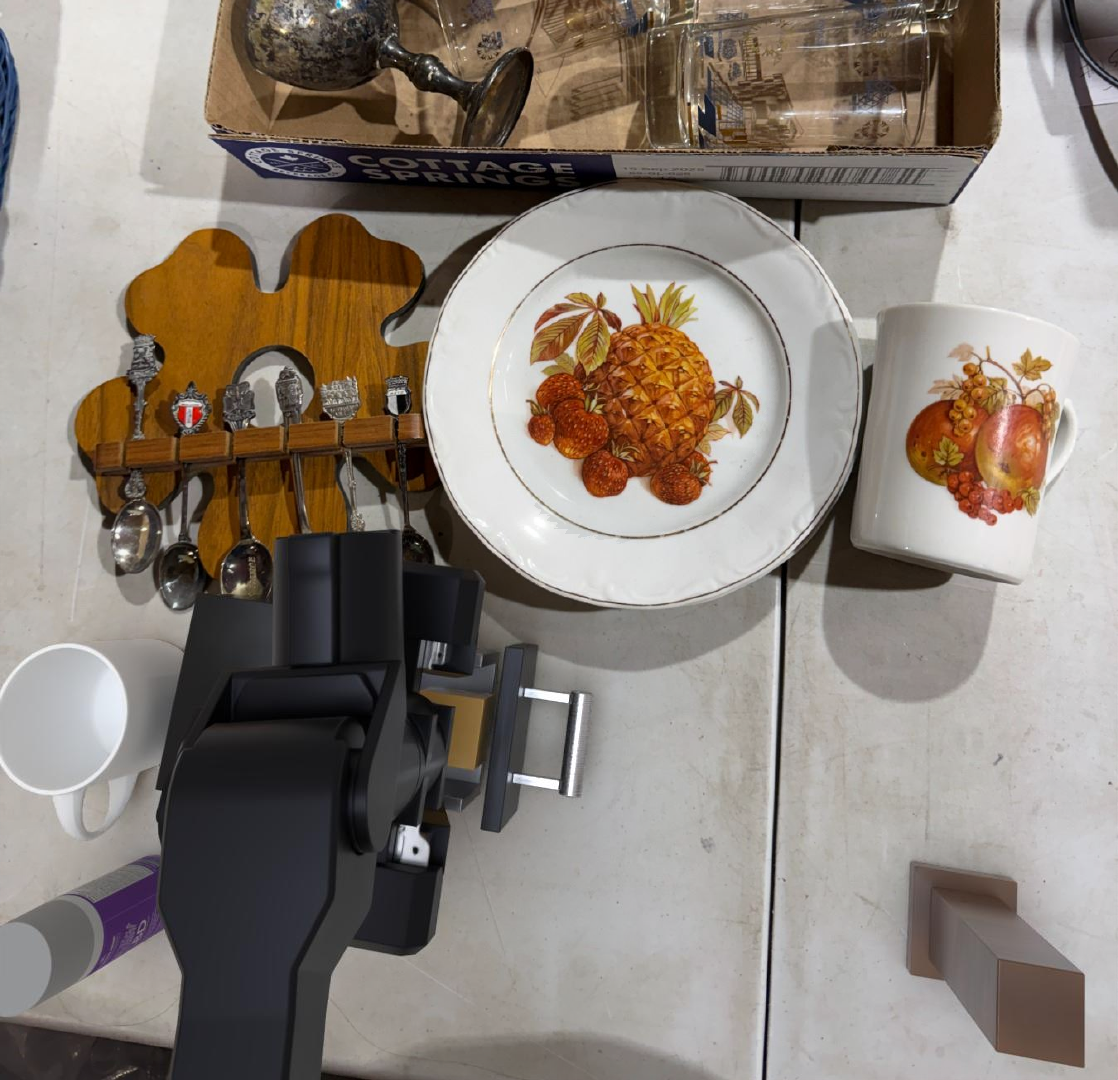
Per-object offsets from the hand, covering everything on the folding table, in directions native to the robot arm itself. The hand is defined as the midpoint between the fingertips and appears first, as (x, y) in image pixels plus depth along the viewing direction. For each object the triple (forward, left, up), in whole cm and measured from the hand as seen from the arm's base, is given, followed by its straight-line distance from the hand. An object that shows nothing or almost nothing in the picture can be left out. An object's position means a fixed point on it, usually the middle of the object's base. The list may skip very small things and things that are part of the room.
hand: (436, 727), depth 61 cm
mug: (-4, +22, -8) cm, 24 cm away
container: (-14, +19, -8) cm, 25 cm away
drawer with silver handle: (0, -1, -7) cm, 7 cm away
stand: (-7, -32, -8) cm, 34 cm away
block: (0, -1, -1) cm, 2 cm away
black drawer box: (0, +10, -8) cm, 12 cm away
